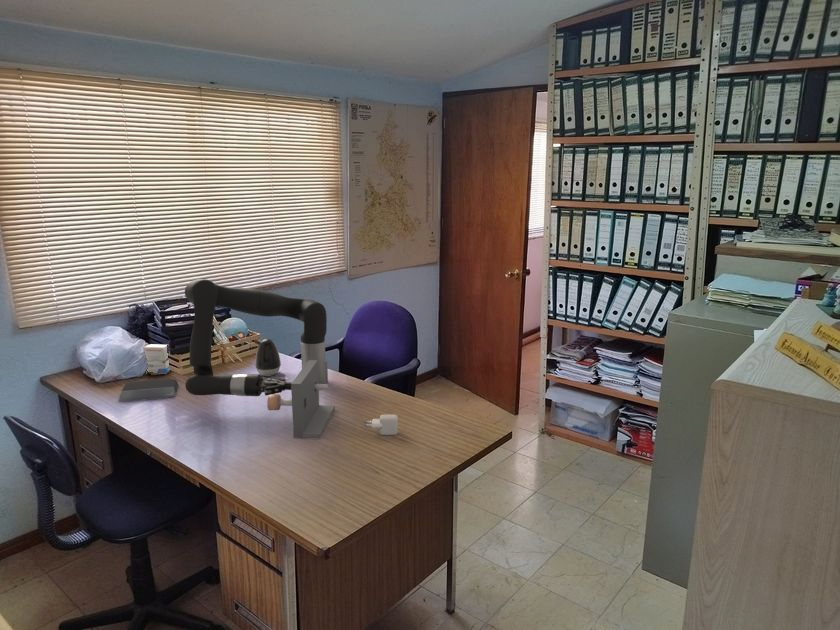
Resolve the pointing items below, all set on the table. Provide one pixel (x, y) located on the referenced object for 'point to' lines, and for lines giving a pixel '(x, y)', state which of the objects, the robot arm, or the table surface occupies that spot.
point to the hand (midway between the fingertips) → (296, 386)
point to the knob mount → (308, 404)
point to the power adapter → (385, 424)
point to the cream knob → (321, 386)
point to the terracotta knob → (277, 402)
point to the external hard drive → (149, 389)
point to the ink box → (157, 358)
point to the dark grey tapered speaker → (267, 358)
